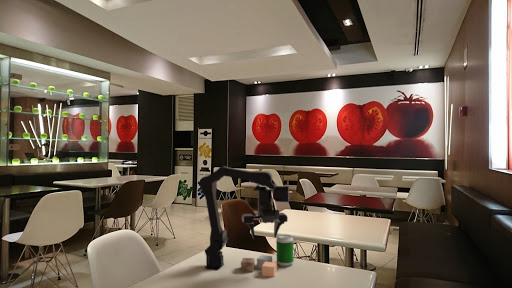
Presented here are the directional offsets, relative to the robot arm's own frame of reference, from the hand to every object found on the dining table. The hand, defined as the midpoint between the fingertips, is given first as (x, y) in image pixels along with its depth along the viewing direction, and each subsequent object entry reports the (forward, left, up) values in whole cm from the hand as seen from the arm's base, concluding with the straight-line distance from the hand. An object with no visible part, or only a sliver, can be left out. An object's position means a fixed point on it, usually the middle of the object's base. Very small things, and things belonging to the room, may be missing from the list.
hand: (264, 238), depth 129 cm
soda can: (+7, +8, -13) cm, 17 cm away
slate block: (-1, +3, -13) cm, 14 cm away
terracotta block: (+3, -4, -13) cm, 14 cm away
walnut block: (-7, -2, -13) cm, 15 cm away
